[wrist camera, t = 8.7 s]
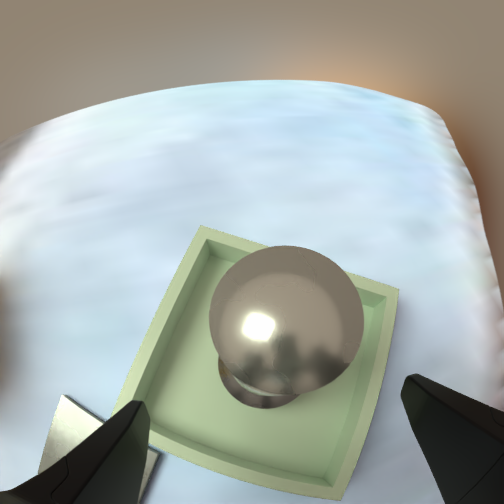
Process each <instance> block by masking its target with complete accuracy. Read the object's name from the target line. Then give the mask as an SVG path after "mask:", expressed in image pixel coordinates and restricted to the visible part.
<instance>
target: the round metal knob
mask: <svg viewBox="0 0 504 504" xmlns="http://www.w3.org/2000/svg"><path fill="white" fill-rule="evenodd" d="M209 328H210V333H211V338H212V341H213V344H214V347H215V349H216V351H217V353H218V355H219V357H218V370H219V375H220V378H221V381H222V383H223V385H224V387H225V388H226V389H227V391H228V392H229V393H230V394H231V395H232V396H233V397H234V398H235V399H237V400H238V401H240V402H241V403H243V404H245V405H247V406H250V407H254V408H259V409H271V408H277V407H281V406H283V405H286V404H288V403H290V402H291V401H293V400H294V399H296V398H297V397H298V396H299V395H300V394H303V393H308V392H311V391H315V390H317V389H319V388H322V387H324V386H326V385H327V384H329V383H331V382H332V381H334V380H335V379H336V378H337V377H339V376H340V375H341V374H342V373H343V372H344V371H345V370H346V369H347V368H348V366H349V365H350V364H351V362H352V361H353V359H354V358H355V356H356V354H357V352H358V350H359V347H360V344H361V341H362V337H363V332H364V311H363V307H362V302H361V299H360V296H359V293H358V291H357V289H356V287H355V285H354V284H353V282H352V281H351V279H350V278H349V276H348V275H347V274H346V273H345V272H344V271H343V270H342V269H341V268H340V267H339V266H338V265H337V264H336V263H334V262H333V261H332V260H330V259H329V258H327V257H325V256H323V255H322V254H320V253H317V252H315V251H312V250H309V249H306V248H302V247H296V246H274V247H268V248H264V249H261V250H258V251H255V252H253V253H251V254H248V255H247V256H245V257H243V258H242V259H240V260H239V261H238V262H236V263H235V264H234V265H233V266H232V267H231V268H230V269H229V270H228V271H227V272H226V273H225V274H224V276H223V277H222V278H221V280H220V281H219V283H218V285H217V287H216V289H215V291H214V294H213V296H212V300H211V304H210V310H209Z"/></svg>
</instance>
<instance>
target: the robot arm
mask: <svg viewBox="0 0 504 504" xmlns="http://www.w3.org/2000/svg"><path fill="white" fill-rule="evenodd" d="M401 399H402V402H403V405H404V408H405V410H406V413H407V416H408V419H409V422H410V425H411V427H412V430H413V432H414V434H415V436H416V439H417V441H418V443H419V445H420V447H421V449H422V451H423V454H424V456H425V458H426V460H427V462H428V465H429V467H430V469H431V471H432V474H433V476H434V478H435V480H436V483H437V485H438V488H439V490H440V492H441V495H442V497H443V500H444V502H445V504H504V412H503V411H500V410H497V409H495V408H493V407H489V406H488V405H486V404H483V403H481V402H479V401H477V400H474V399H472V398H470V397H467V396H465V395H463V394H461V393H458V392H456V391H454V390H452V389H450V388H447V387H445V386H443V385H441V384H439V383H437V382H434V381H432V380H430V379H428V378H426V377H424V376H422V375H419V374H412V375H409V376H407V377H406V379H405V382H404V385H403V387H402V390H401ZM149 432H150V416H149V413H148V410H147V408H146V405H145V403H144V402H143V401H141V400H131V401H130V402H128V403H127V404H126V405H125V406H124V407H123V408H121V409H120V410H119V411H118V412H117V413H115V414H114V415H113V416H112V417H111V418H110V419H108V420H107V421H106V422H105V423H104V424H102V425H101V426H100V427H99V428H98V429H96V430H95V431H94V432H93V433H92V434H90V435H89V436H88V437H87V438H86V439H84V440H83V441H82V442H81V443H79V444H78V445H77V446H76V447H75V448H73V449H72V450H71V451H70V452H68V453H67V454H66V456H63V457H62V458H61V459H59V460H58V461H57V462H56V463H54V464H53V465H52V466H50V467H49V468H47V469H46V470H44V471H43V472H41V473H40V474H38V475H36V476H35V477H33V478H31V479H30V480H28V481H26V482H24V483H23V484H21V485H19V486H17V487H15V488H13V489H11V490H8V491H1V492H0V504H138V499H139V494H140V489H141V484H142V479H143V475H144V470H145V466H146V460H147V452H148V442H149Z"/></svg>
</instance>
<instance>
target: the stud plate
mask: <svg viewBox="0 0 504 504" xmlns="http://www.w3.org/2000/svg"><path fill="white" fill-rule="evenodd" d="M104 423H105V422H104V421H103V420H101V419H100V418H98V417H97V416H95V415H94V414H92V413H91V412H89V411H88V410H86V409H85V408H83V407H82V406H80V405H79V404H78V403H76V402H75V401H74V400H72V399H71V398H69V397H68V396H67V395H62V396H61V398H60V401H59V404H58V407H57V409H56V412H55V415H54V418H53V421H52V424H51V427H50V431H49V434H48V437H47V440H46V444H45V447H44V451H43V454H42V458H41V462H40V466H39V470H38V474H40V473H41V472H43V471H44V470H46V469H47V468H49V467H50V466H52V465H53V464H54V463H56V462H57V461H58V460H59V459H61V458H62V457H63V456H66V454H67V453H68V452H70V451H71V450H72V449H73V448H75V447H76V446H77V445H78V444H79V443H81V442H82V441H83V440H84V439H86V438H87V437H88V436H89V435H90V434H92V433H93V432H94V431H95V430H96V429H98V428H99V427H100V426H101V425H102V424H104ZM159 455H160V452H158V451H156V450H154V449H152V448H150V447H148V452H147V460H146V466H145V470H144V475H143V479H142V484H141V489H140V494H139V499H138V504H140V502H141V499H142V497H143V494H144V492H145V489H146V487H147V485H148V482H149V480H150V477H151V475H152V472H153V470H154V467H155V465H156V462H157V460H158V457H159Z"/></svg>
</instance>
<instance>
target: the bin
mask: <svg viewBox="0 0 504 504" xmlns="http://www.w3.org/2000/svg"><path fill="white" fill-rule="evenodd" d="M264 248H268V246H265V245H262V244H259V243H256V242H253V241H249V240H246V239H243V238H240V237H237V236H234V235H230V234H227V233H224V232H221V231H218V230H215V229H211V228H208V227H205V226H202V225H200V227H199V229H198V231H197V233H196V235H195V236H194V238H193V240H192V242H191V244H190V246H189V248H188V250H187V252H186V254H185V255H184V257H183V259H182V261H181V263H180V265H179V267H178V269H177V271H176V273H175V275H174V277H173V279H172V281H171V283H170V285H169V287H168V289H167V291H166V293H165V295H164V297H163V299H162V301H161V303H160V305H159V307H158V310H157V312H156V314H155V316H154V318H153V320H152V322H151V324H150V327H149V329H148V331H147V333H146V335H145V337H144V340H143V342H142V344H141V346H140V348H139V351H138V353H137V355H136V357H135V360H134V362H133V364H132V366H131V369H130V371H129V373H128V376H127V378H126V380H125V383H124V385H123V388H122V390H121V392H120V395H119V397H118V400H117V402H116V405H115V407H114V410H113V412H112V415H111V417H112V416H113V415H114V414H115V413H117V412H118V411H119V410H120V409H121V408H123V407H124V406H125V405H126V404H127V403H128V402H130V401H131V400H141V401H143V402H144V403H145V405H146V408H147V410H148V413H149V416H150V432H149V442H148V443H150V444H152V445H154V446H156V447H158V448H160V449H162V450H164V451H166V452H168V453H171V454H173V455H175V456H177V457H179V458H182V459H184V460H186V461H189V462H191V463H194V464H196V465H199V466H201V467H204V468H206V469H209V470H212V471H214V472H217V473H220V474H223V475H226V476H229V477H232V478H235V479H238V480H241V481H245V482H248V483H252V484H255V485H259V486H263V487H266V488H271V489H275V490H279V491H283V492H288V493H293V494H298V495H304V496H309V497H316V498H322V499H330V500H338V501H341V499H342V496H343V494H344V492H345V490H346V488H347V485H348V483H349V481H350V478H351V476H352V473H353V471H354V468H355V466H356V463H357V461H358V458H359V456H360V453H361V450H362V447H363V445H364V442H365V439H366V436H367V433H368V430H369V427H370V424H371V420H372V417H373V414H374V410H375V407H376V403H377V400H378V396H379V392H380V389H381V385H382V381H383V377H384V372H385V368H386V364H387V359H388V354H389V349H390V344H391V339H392V334H393V328H394V322H395V316H396V309H397V302H398V294H399V289H397V288H394V287H391V286H388V285H385V284H382V283H379V282H376V281H373V280H370V279H367V278H364V277H361V276H358V275H355V274H352V273H349V272H346V271H344V272H345V273H346V274H347V275H348V276H349V278H350V279H351V281H352V282H353V284H354V285H355V287H356V289H357V291H358V293H359V296H360V299H361V302H362V307H363V311H364V332H363V337H362V341H361V344H360V347H359V350H358V352H357V354H356V356H355V358H354V359H353V361H352V362H351V364H350V365H349V366H348V368H347V369H346V370H345V371H344V372H343V373H342V374H341V375H340V376H339V377H337V378H336V379H335V380H334V381H332V382H331V383H329V384H327V385H326V386H324V387H322V388H319V389H317V390H315V391H311V392H308V393H303V394H300V395H299V396H298V397H297V398H296V399H294V400H293V401H291V402H290V403H288V404H286V405H283V406H281V407H277V408H271V409H259V408H254V407H250V406H247V405H245V404H243V403H241V402H240V401H238V400H237V399H235V398H234V397H233V396H232V395H231V394H230V393H229V392H228V391H227V389H226V388H225V387H224V385H223V383H222V381H221V378H220V375H219V370H218V357H219V355H218V353H217V351H216V349H215V347H214V344H213V341H212V338H211V333H210V328H209V310H210V304H211V300H212V296H213V294H214V291H215V289H216V287H217V285H218V283H219V281H220V280H221V278H222V277H223V276H224V274H225V273H226V272H227V271H228V270H229V269H230V268H231V267H232V266H233V265H234V264H235V263H236V262H238V261H239V260H240V259H242V258H243V257H245V256H247V255H248V254H251V253H253V252H255V251H258V250H261V249H264ZM111 417H110V418H111Z"/></svg>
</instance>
